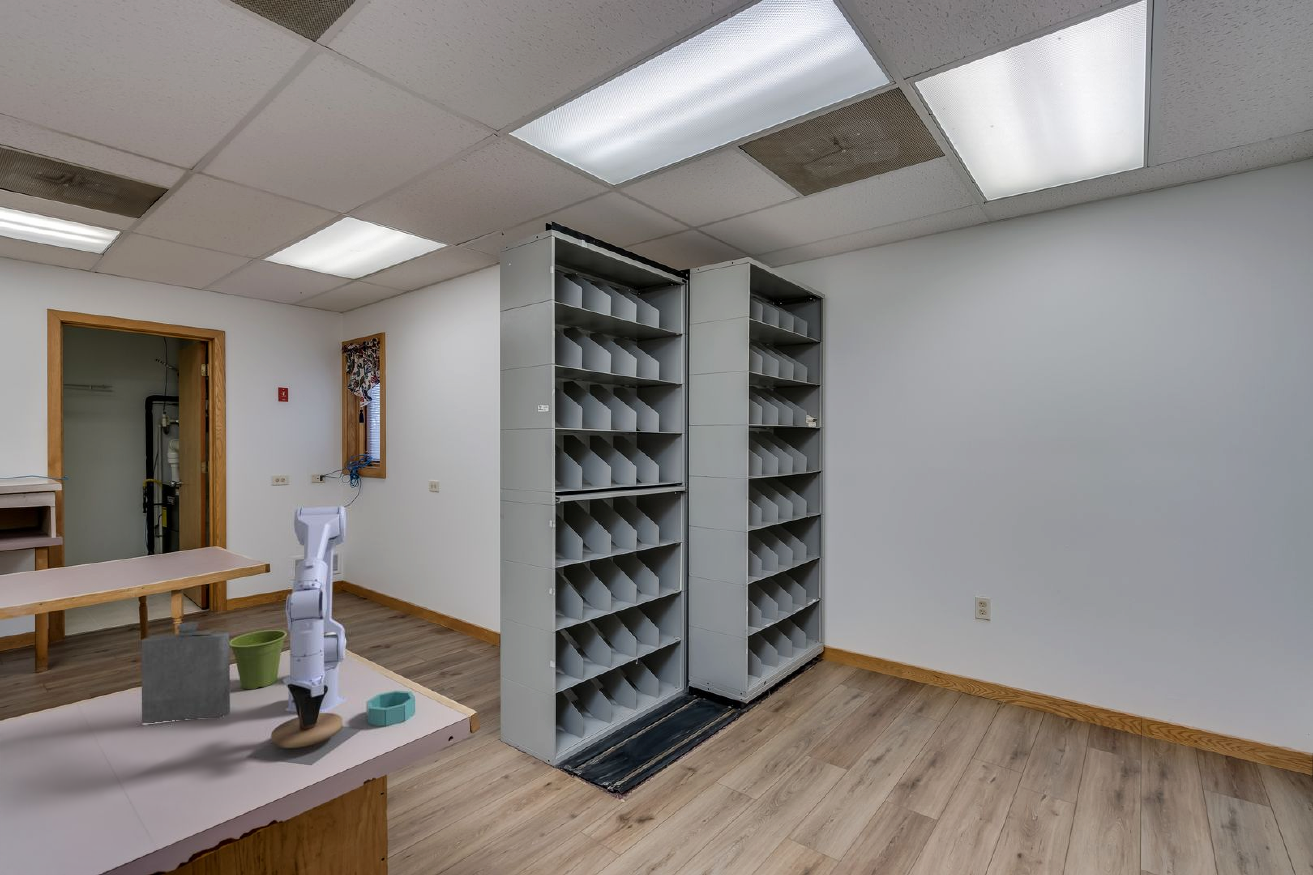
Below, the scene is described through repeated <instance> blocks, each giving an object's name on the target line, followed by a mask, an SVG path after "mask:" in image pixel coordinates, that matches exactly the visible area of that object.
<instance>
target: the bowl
mask: <svg viewBox="0 0 1313 875" xmlns="http://www.w3.org/2000/svg"><path fill="white" fill-rule="evenodd" d="M365 707H366V711H365V712H366V720H367V723H368V724H369V725H371V726H375V727H387V726H389V727H390V726H393V725H398V724H401V723H403V722H406V721H408V720H409V719H411V718H412V717H413V716H414V714H415V713H416V697H415V695H414V693H413V692H412V691H409V690H407V691H405V690H393V691H387V692H384V693H379V694H376V695H375V696H373V697H371V698H370V699H369V700H367V701H366V706H365Z"/></svg>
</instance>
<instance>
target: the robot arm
mask: <svg viewBox="0 0 1313 875" xmlns="http://www.w3.org/2000/svg"><path fill="white" fill-rule="evenodd" d="M346 511H347V510H346V508H345V507H344V505H339V506H338V505H335V506H319V507H301V506H299V507H297V509H296V510H295V512H294V522H293V523H294V524H293V526H294V533H295V534H296V538H297V541H299V542H298V543H299V545H301V546H303V550H304V551H303V560H302V561H299V562H298V564H296V567H295V572H294V577H293V578H294V579H293V580H294V581H293V585H292V589H291V590H292V591H291V593H290V594H289V593H288V594H287V596H286V603H285V615H286V620H287V630H288V631H287V632H289V671H290V672H289V676H287V677H284V678H283V679H282V682H283V684H284V685H286V688H287V689H288V707H287V708H285V712H292V713H293V712H295V713H296V714H297V717H298V718H299V707H300V711H301V717H302V722H303V725H304V726H305V727H306V726H309V725H313V724H316V723H317V719H318V715H319V713H328V712H330V711H331V710H333V709H334V708H337V706H339V705H340V704H343V703H344V702H345V701H347V700H348V699H349V698H348V697H347V696H346V697H345V696H339V670H338V664H339V662H340V663H342V662H343V661H344V659H345V656H346V646H345V638H346V635H345V634H346V633H345V632H346V630H345V628H344V626H343V625H342V624H341V623H339V622H338V621H336V620H334V619H333V618H332V616H333V615H332V614H333V612H332V611H333V609H332V608H333V576H334V575H333V573H334V570H333V569H334V554H335V552H336V551H335V550H336V548H337V546H338V545H340V544H342V543H344V542H345V538H346V526H347V523H346V522H347V515H346ZM329 632H334V633H336V634H332V635H325V634H326V633H329ZM339 665H340V664H339Z"/></svg>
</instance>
